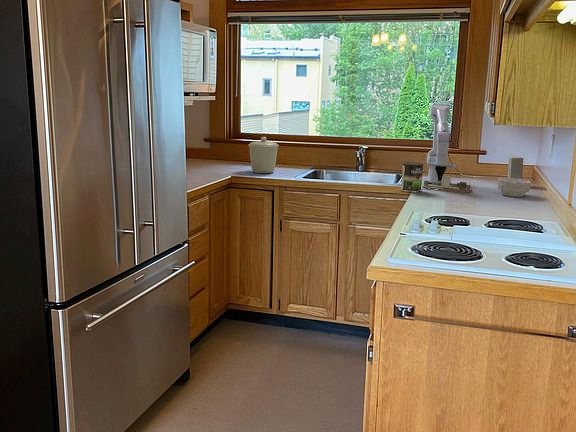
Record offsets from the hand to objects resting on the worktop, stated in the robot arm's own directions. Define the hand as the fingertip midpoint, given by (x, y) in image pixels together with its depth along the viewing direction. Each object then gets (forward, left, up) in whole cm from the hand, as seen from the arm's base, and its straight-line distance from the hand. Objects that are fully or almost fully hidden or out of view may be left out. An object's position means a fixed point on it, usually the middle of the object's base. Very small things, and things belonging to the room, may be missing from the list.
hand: (439, 180), depth 288 cm
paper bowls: (-4, +36, -4) cm, 36 cm away
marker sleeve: (0, +3, -3) cm, 5 cm away
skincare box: (-36, +33, -4) cm, 49 cm away
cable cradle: (0, +4, -4) cm, 6 cm away
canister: (+8, -102, -4) cm, 103 cm away
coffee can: (+14, -11, -4) cm, 18 cm away
